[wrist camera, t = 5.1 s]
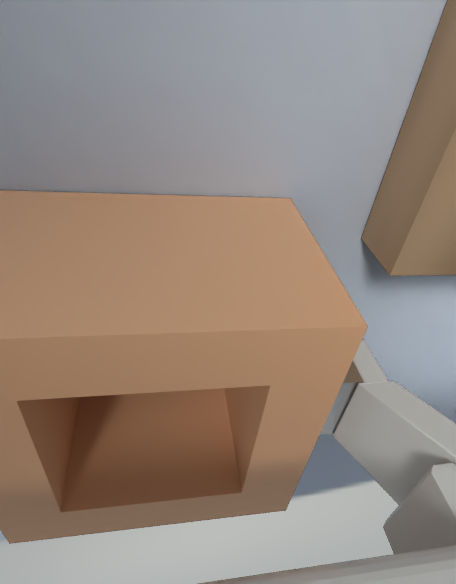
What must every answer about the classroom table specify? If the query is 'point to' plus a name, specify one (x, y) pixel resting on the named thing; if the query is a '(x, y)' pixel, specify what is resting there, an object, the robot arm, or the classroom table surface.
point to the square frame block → (160, 358)
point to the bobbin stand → (422, 172)
